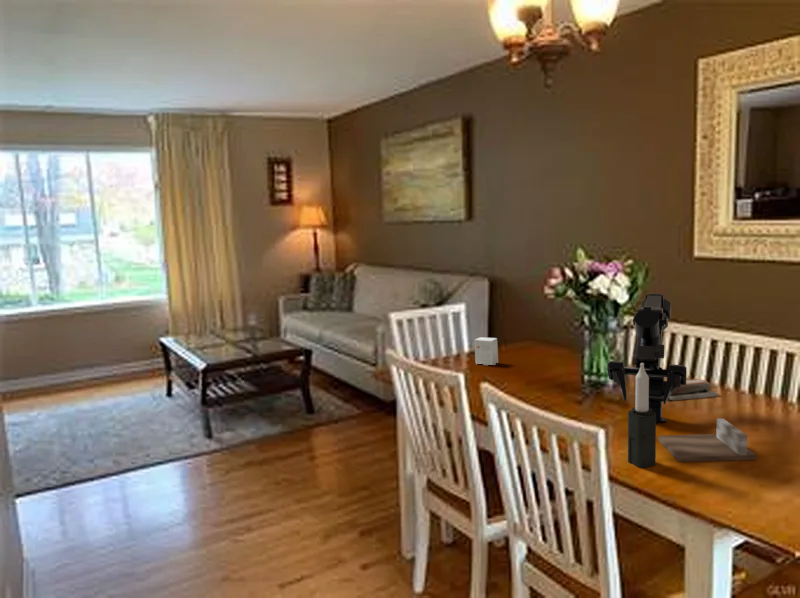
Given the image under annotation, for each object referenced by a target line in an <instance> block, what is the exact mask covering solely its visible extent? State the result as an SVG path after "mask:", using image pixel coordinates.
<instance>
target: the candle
mask: <svg viewBox="0 0 800 598" xmlns="http://www.w3.org/2000/svg"><path fill="white" fill-rule="evenodd" d="M640 365H641V367H640V370H639V372H638V374H637V375H635V379H636V390H635V389H634V397H635V398H634V399H635V406H634V407H632V408H631V410H628V411H627V462H628V463H629V464H632V465H634V466H635V467H637V468H639V469H646V468H650V467H653V466H655V465H656V452H657V451H656V450H657V449H656V447H657V446H656V444H657V435H656V434H657V432H656V430H657V422H656V413H654V412H652V409H649V377H648V375H647V374H646V372H645V369H644V363H641V364H640Z"/></svg>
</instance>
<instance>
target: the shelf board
mask: <svg viewBox="0 0 800 598" xmlns="http://www.w3.org/2000/svg"><path fill="white" fill-rule="evenodd" d="M657 442H659V443H660V444H661V445H662V446H663V447H664V448H665V449H666V450H667V451H668V452H669V453H670V454H671V455H672V456H673V457H674V458H675V459H676V460H677V461H678V462H680V463H681V462H682V463H683V462H685V463H686V462H717V461H718V462H719V461H720V462H721V461H722V462H723V461H751V460H752V461H753V460H754V461H756V460H757V455H756V454H755V453H754V452H753V451H752V450H750V449H749V448H748V434H746V433H745V432H743V431H742V430H740V429H739V428H737V426H734V425H733V424H732V423H730V422H729V421H727V420H726V419H725V418H720V417H719V418H716V432H715V433H714V434H713V433H710V434H709V433H708V434H679V435H678V434H676V435H675V434H673V435H671V434H670V435H657Z"/></svg>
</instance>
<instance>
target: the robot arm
mask: <svg viewBox="0 0 800 598" xmlns="http://www.w3.org/2000/svg"><path fill="white" fill-rule="evenodd" d="M640 303H641V305H640V307H639V308H638V309H637V312H635V313H634V316H633V319H632V324H633V326H635V334H636V345H635V347H634V348H635V351H634V355H633V357H634V358H633V365H634V366H625V362H624V361H621V360H620V361H619V360H609V362H607V365H606V366H607V368H606V369H607V370H606V371H607V375H608V379H609V380H612V381H613V383H615V384H618V386H619V388H620V390H621V394H622V398H623V401H624V402H626V401H627V385H626V384H627V383H626V375H631V376H636V375H637V374H638V372H639V370H640V367H641V365H640V364H641V363H644V369H645V372H646V374H647V375H648V377H649V409H652V412H654V413H656V423H666V422H667V419H666V418H665V417H663V415H662V414H663V405H666V404H667V403H668V402H670V401H669V400H670V395H671V393H672V392H673V391H674V389H675V388H676V387H680V386H681V385H685V384H686V380H687V367H686V366H685V364H671V363H670V364H669V367H668V369H663V367H661V359H664V358H665V344H662V341H663V340H662V339H663V332H664V331H665V330H666V329H667V328H668V327H669V320H671V319H672V302H670V301H669V300H667V299H666V298H665V295H664V294H662V293H647V294H645V299H644V300H642V301H641V302H640ZM665 378H666V379H665ZM634 380H635V381H634V391H635V390H636V378H635V379H634Z"/></svg>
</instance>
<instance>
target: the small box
mask: <svg viewBox="0 0 800 598" xmlns="http://www.w3.org/2000/svg"><path fill="white" fill-rule="evenodd" d="M474 360H475V363H476V364H475V365H477V364H483V365H482V366H488V365H494V366H495V365H497V364H498V363H499V351H498V338H497V337H483V336H482V337H481V336H480V337H478V338H475V339H474ZM496 363H497V364H496Z"/></svg>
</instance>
